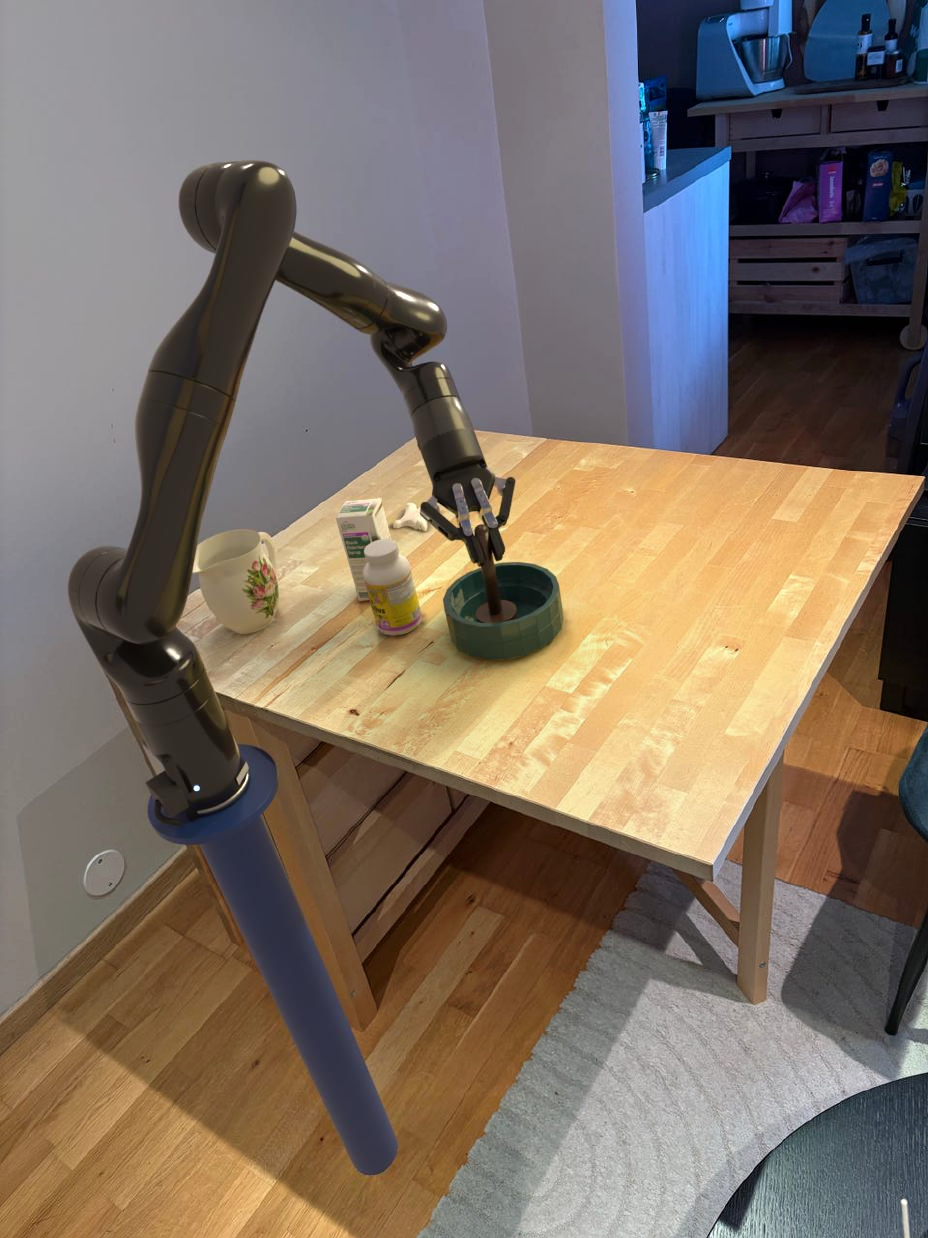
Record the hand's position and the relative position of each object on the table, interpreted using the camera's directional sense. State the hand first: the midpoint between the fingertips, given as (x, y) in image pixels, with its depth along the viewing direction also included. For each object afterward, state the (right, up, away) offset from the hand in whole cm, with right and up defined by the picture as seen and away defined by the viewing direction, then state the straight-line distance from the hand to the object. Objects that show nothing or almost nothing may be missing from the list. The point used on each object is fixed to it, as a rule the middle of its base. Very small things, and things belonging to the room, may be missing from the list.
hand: (490, 561), depth 117 cm
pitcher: (-35, -7, +24) cm, 43 cm away
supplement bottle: (-13, -8, +15) cm, 21 cm away
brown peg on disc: (+1, -8, +8) cm, 11 cm away
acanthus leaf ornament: (-12, +10, +42) cm, 44 cm away
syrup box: (-16, -3, +24) cm, 29 cm away
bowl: (+3, -9, +9) cm, 13 cm away
